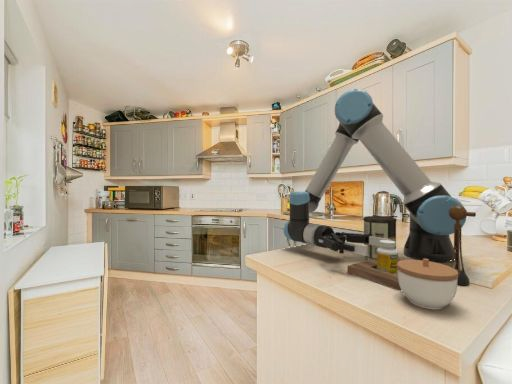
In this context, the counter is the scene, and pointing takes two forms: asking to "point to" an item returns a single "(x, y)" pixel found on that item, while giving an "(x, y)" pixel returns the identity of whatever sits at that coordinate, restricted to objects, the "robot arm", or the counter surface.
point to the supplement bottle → (387, 256)
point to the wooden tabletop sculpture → (459, 241)
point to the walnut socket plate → (374, 273)
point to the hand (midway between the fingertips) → (379, 247)
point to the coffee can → (379, 232)
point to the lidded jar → (427, 283)
